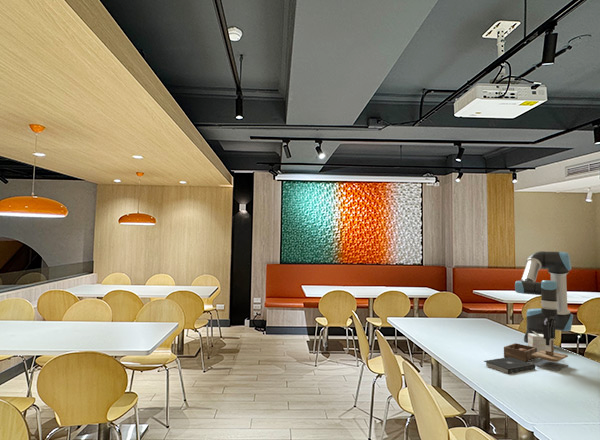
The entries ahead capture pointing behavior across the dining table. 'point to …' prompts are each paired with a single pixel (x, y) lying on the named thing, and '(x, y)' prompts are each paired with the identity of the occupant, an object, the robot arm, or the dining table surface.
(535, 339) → the ink box
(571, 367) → the dining table surface
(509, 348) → the crate
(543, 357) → the lid
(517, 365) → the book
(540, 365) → the mat
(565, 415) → the dining table surface
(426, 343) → the dining table surface
